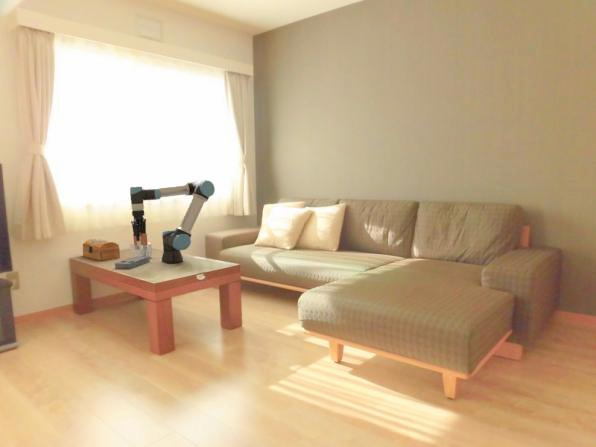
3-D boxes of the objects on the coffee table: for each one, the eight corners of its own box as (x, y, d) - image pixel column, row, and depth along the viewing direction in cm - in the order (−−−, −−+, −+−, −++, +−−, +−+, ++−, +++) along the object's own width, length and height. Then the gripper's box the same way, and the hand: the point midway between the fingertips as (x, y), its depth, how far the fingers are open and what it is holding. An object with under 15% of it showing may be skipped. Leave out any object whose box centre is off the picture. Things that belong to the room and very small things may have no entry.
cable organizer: (130, 257, 320) (129, 242, 318) (142, 255, 328) (141, 241, 326) (140, 260, 310) (139, 244, 309) (153, 257, 318) (152, 242, 317)
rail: (136, 261, 306) (136, 256, 306) (149, 261, 303) (149, 256, 303) (115, 268, 283) (114, 263, 282) (129, 268, 280) (129, 263, 280)
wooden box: (81, 257, 326) (80, 240, 325) (102, 254, 339) (101, 237, 337) (98, 262, 307) (97, 243, 305) (120, 258, 319) (119, 240, 318)
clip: (136, 249, 278) (135, 233, 276) (147, 249, 276) (146, 233, 274) (134, 249, 275) (133, 233, 274) (145, 250, 273) (144, 233, 272)
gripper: (140, 208, 280) (142, 243, 283) (125, 211, 265) (128, 247, 268) (149, 208, 279) (152, 243, 282) (135, 211, 264) (138, 247, 267)
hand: (140, 245), depth 275 cm, fingers closed on clip, 3 cm apart
